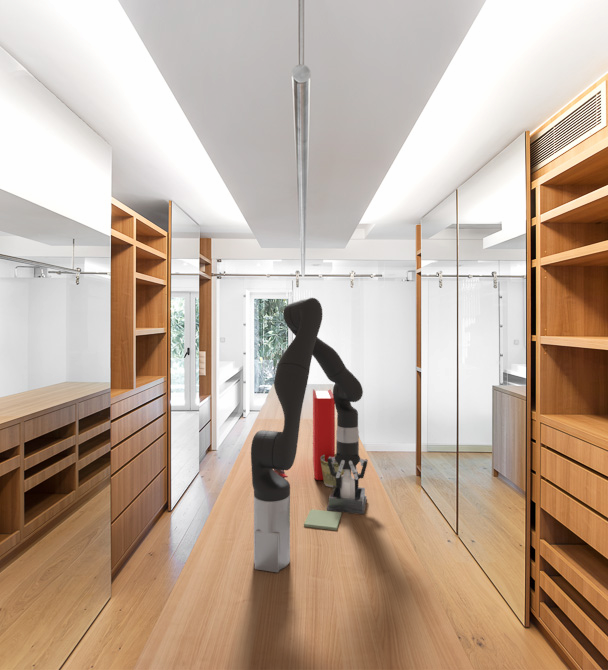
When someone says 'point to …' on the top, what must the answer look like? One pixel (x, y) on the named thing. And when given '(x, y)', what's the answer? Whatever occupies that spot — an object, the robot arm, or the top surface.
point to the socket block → (347, 501)
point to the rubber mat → (323, 519)
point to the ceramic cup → (327, 476)
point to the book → (323, 429)
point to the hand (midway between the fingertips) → (347, 488)
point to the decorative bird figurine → (281, 473)
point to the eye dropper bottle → (347, 485)
